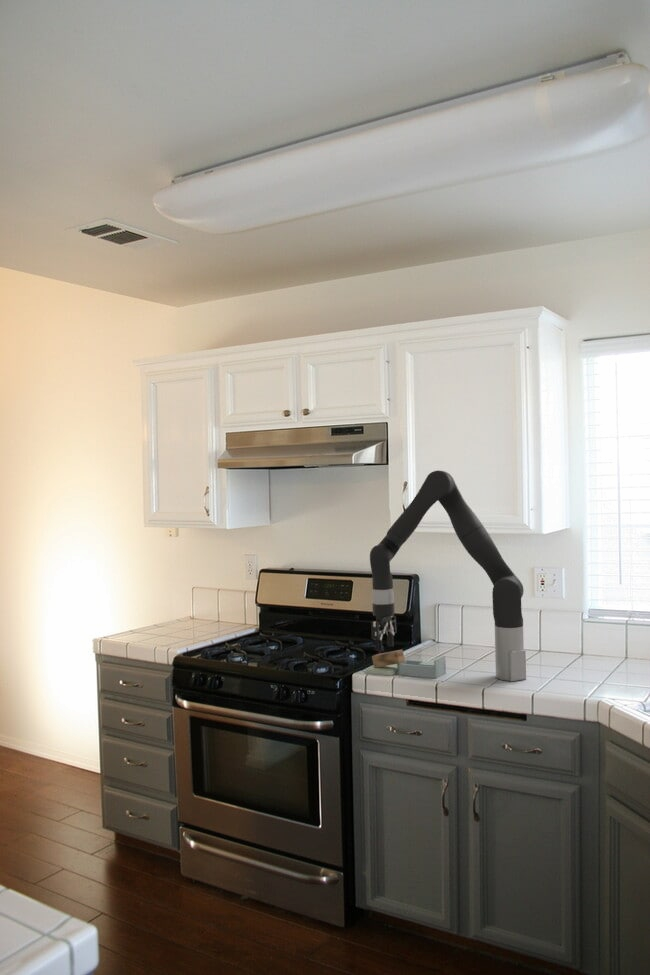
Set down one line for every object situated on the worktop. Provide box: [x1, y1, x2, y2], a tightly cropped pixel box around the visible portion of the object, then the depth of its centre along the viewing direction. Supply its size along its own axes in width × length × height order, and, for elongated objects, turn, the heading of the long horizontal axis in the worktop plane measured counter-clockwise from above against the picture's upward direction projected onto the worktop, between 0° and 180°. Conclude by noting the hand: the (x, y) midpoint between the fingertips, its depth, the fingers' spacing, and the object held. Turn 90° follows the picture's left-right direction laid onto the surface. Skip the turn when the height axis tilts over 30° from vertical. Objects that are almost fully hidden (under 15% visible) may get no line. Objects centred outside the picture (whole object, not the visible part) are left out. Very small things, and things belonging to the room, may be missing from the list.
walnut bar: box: [371, 649, 406, 668], centre depth 290 cm, size 10×4×4 cm, turn 57°
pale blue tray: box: [396, 655, 447, 679], centre depth 285 cm, size 14×8×6 cm, turn 59°
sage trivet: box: [364, 664, 397, 676], centre depth 290 cm, size 10×10×1 cm
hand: (384, 648), depth 290 cm, fingers open, 8 cm apart
